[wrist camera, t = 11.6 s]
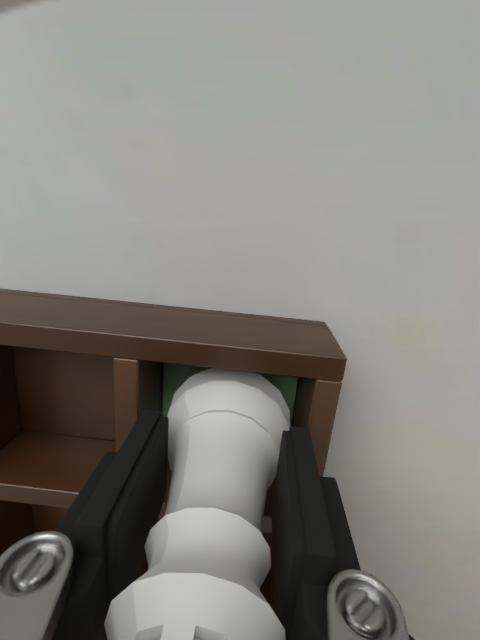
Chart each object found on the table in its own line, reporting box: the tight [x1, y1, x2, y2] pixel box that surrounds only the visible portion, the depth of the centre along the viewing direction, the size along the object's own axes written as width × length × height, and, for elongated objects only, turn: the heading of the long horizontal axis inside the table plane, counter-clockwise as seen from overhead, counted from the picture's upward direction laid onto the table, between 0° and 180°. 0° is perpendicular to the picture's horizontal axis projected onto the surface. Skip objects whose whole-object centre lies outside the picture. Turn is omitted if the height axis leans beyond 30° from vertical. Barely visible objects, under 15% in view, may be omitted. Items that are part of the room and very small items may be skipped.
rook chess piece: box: [104, 368, 290, 640], centre depth 9 cm, size 4×4×8 cm
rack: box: [0, 289, 347, 611], centre depth 14 cm, size 13×13×4 cm
